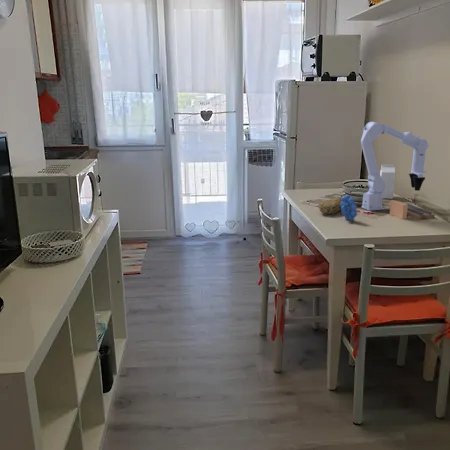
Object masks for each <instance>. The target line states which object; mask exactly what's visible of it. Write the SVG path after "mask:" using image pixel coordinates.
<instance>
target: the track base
mask: <svg viewBox="0 0 450 450" xmlns="http://www.w3.org/2000/svg"><path fill="white" fill-rule="evenodd" d="M407 204H408V208H407V216H409V217H411V218H414V219H417V220H425V219H426V220H427V219H434V218H435V216H436V215H435V214H434V213H433V211H430V210H427V209H425V208H421V207H420V206H416V205H413V204H411V203H407Z"/></svg>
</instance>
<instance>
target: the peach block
mask: <svg viewBox="0 0 450 450" xmlns="http://www.w3.org/2000/svg"><path fill="white" fill-rule="evenodd" d="M389 204H390V205H389V214H390V215H392V216H394V217H396V218H399V219H401V220H406V219H408V217H407V216H408V215H407V208H408V204H409V203H404V202H401V201H399V200H397V199H395V200H394V199H392V200H390V203H389Z"/></svg>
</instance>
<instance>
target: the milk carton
mask: <svg viewBox="0 0 450 450" xmlns="http://www.w3.org/2000/svg"><path fill="white" fill-rule="evenodd" d="M379 174H380V176H381V177H382V180H383V182H384V183H385V189H384V190H383V199H392V200H394V199H393V198H394V192H395V191H394V190H395V179H396V177H395V176H396V164H394V163H392V164H391V163H382V164H381V166H380V170H379Z"/></svg>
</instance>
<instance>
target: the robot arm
mask: <svg viewBox="0 0 450 450" xmlns="http://www.w3.org/2000/svg"><path fill="white" fill-rule="evenodd" d="M362 131H363V133H362V135H361V138H360V144H361V149H362V152H363V157H364V160H365V161H364V162H365V165H366V170H367V174H368V175H367V187H368V191H367V192H364V193H363V195H362V205H361V208H362V209H364V210H367V211H369V212H370V211H371V212H372V211H379V210H386V207H383V199H384V198H383V190H384V189H385V183H384V182H383V180H382V177H381V176H380V170H379V166H378V162H377V159H376V154H375V151H374V146H373V143H374V141H375V140H376V139H377V138H379V137H380V135H385V134H386V135H387V134H388V135H390V136H392V137H395V138H396V139H397V138H398V139H399V141H400V142H401V144H404V145H406V146H408V147H410V148H413V152H412V153H413V154H412V161H411V171H410V173H408V176H409V178H410V179H409V180H410V184H411V185H410V186H411V188H413V189H414V191H417V192H418V191H419V192H420V191H421V188H422V185H423V182H424V181H425V180H426V177H425V176H424V174H426V173H427V171H426V170H424V169H425V161H426V153H427V152H426V151H427V150H428V148H429V142H428V140H426V139H424V138H421V136H420V135H415V134H413V132H411V131H405V132H402V131H400V130H399V129H396V128H393V126H389V125H387V124H383V123H381V122H376V121H369V122H367V123H366V124H365V126H364V127H363V130H362Z"/></svg>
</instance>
